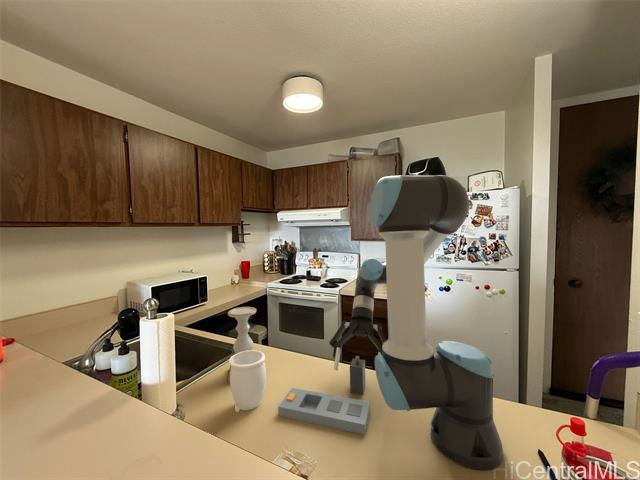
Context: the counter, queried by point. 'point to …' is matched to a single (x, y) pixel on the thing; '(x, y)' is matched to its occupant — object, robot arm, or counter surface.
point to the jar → (247, 379)
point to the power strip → (326, 410)
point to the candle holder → (242, 330)
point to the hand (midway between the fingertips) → (356, 372)
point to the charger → (357, 376)
